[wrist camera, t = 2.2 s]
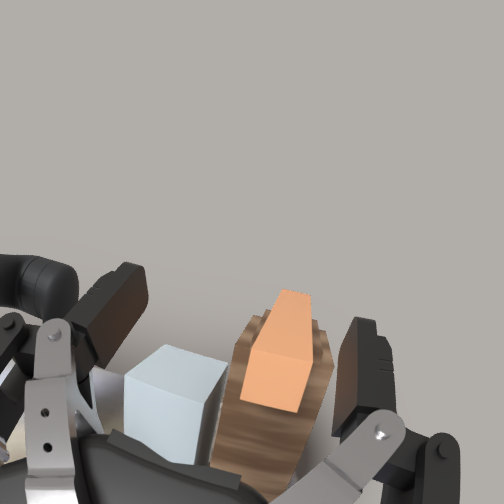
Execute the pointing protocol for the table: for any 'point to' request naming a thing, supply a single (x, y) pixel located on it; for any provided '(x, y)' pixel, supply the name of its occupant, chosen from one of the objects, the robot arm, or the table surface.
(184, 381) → the short post
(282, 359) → the beam
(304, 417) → the tall post
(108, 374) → the table surface
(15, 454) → the table surface
